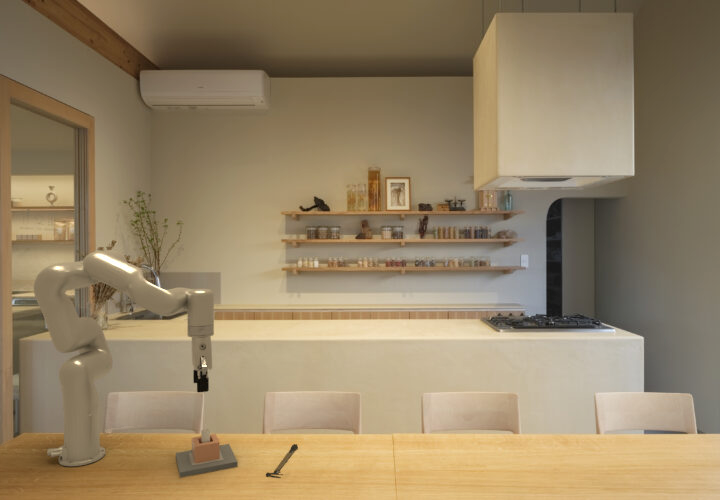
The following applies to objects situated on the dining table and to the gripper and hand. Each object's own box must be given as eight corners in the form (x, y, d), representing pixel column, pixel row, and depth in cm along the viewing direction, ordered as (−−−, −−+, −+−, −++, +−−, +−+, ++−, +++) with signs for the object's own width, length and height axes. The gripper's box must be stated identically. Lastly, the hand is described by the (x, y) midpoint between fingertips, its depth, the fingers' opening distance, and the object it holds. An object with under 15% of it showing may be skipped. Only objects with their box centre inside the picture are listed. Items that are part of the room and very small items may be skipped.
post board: (180, 477, 143) (179, 444, 143) (175, 457, 156) (175, 427, 156) (237, 466, 150) (237, 434, 150) (229, 448, 163) (228, 418, 162)
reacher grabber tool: (286, 483, 142) (286, 479, 142) (264, 478, 144) (264, 474, 144) (311, 450, 163) (312, 447, 163) (292, 446, 164) (292, 443, 164)
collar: (195, 463, 148) (194, 446, 148) (192, 454, 155) (191, 437, 155) (219, 458, 151) (219, 442, 151) (215, 449, 158) (215, 433, 157)
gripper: (217, 334, 146) (218, 393, 147) (209, 324, 162) (209, 378, 163) (190, 336, 143) (190, 397, 144) (184, 326, 159) (185, 380, 160)
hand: (200, 387), depth 153 cm, fingers open, 9 cm apart
